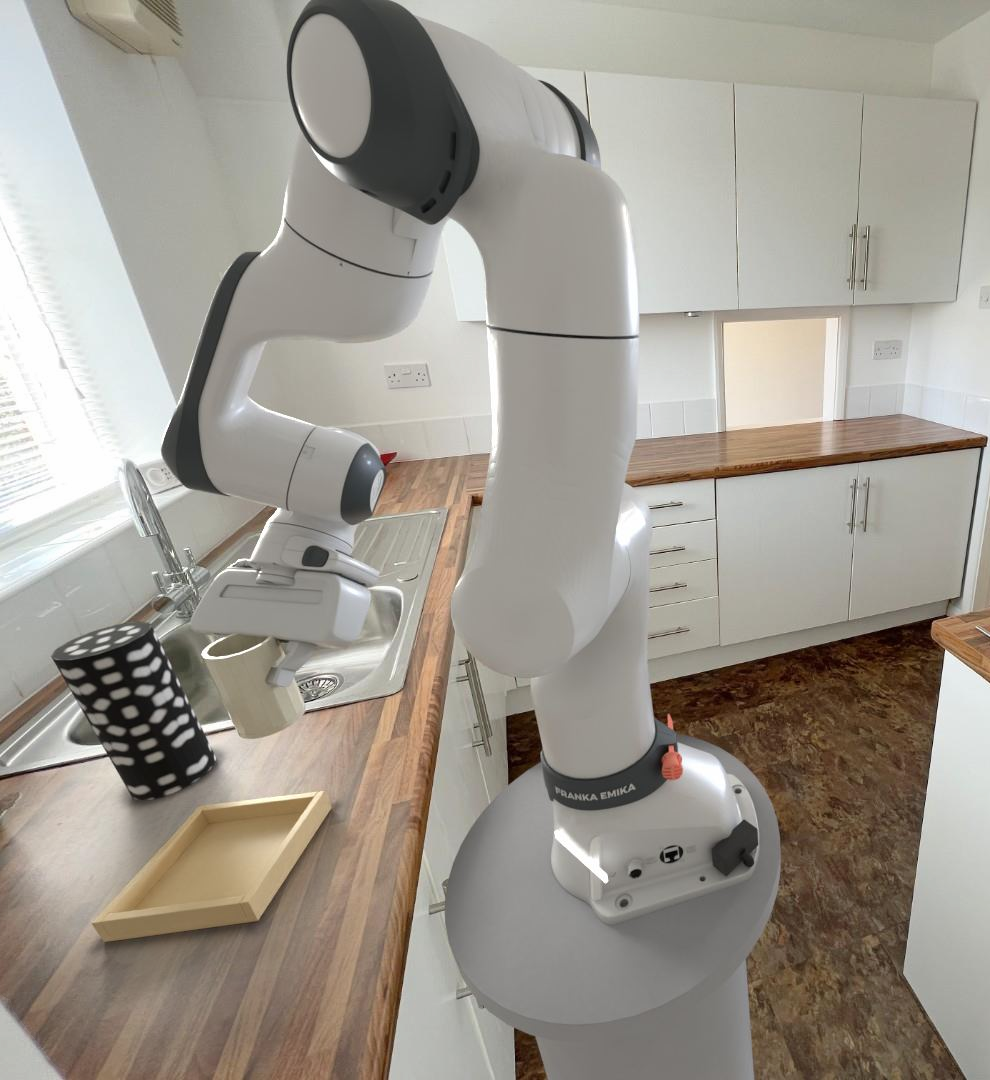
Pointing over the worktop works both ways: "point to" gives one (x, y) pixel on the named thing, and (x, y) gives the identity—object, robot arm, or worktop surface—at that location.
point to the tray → (216, 867)
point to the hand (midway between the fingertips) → (249, 682)
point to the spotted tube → (136, 708)
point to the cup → (252, 684)
